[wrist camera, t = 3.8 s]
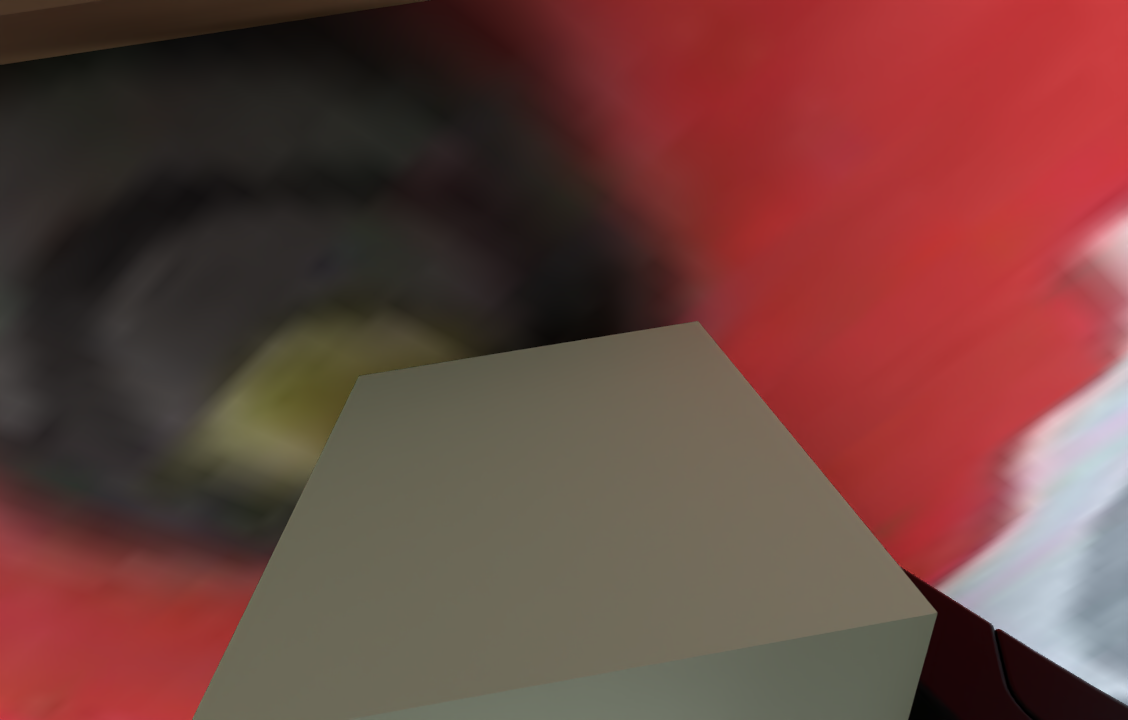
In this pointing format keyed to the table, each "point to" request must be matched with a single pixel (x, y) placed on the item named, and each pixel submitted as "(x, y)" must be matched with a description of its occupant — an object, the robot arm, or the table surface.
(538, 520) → the sage cube
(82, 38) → the base brick
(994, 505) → the table surface
